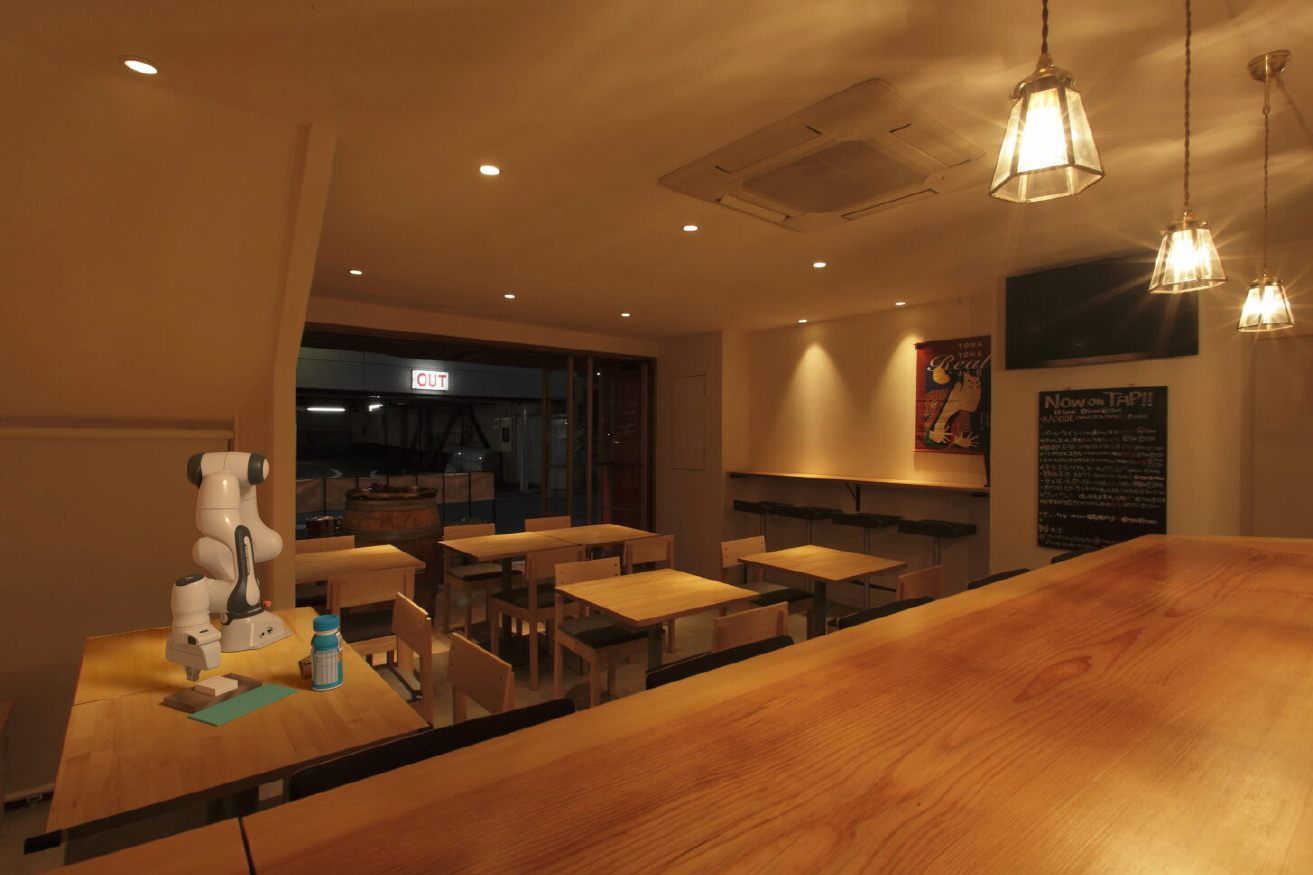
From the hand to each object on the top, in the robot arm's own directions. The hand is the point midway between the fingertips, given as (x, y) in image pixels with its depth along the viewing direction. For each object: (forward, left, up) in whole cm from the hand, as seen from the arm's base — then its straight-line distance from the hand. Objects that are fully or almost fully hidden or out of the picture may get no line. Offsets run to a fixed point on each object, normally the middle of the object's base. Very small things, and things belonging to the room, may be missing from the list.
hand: (193, 680), depth 181 cm
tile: (0, +10, -1) cm, 11 cm away
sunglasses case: (-25, +18, -4) cm, 31 cm away
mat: (0, +23, -3) cm, 23 cm away
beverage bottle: (-17, +33, -3) cm, 38 cm away
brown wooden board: (0, +9, -3) cm, 10 cm away
